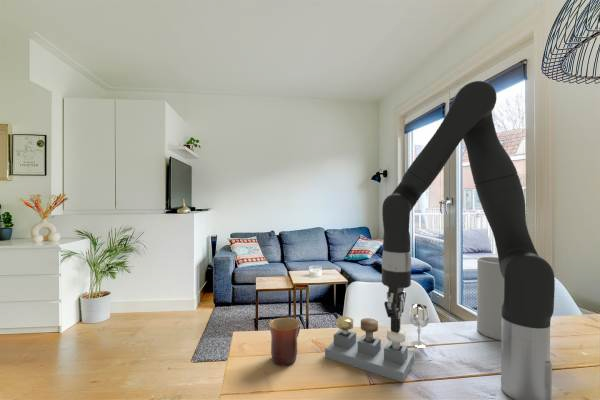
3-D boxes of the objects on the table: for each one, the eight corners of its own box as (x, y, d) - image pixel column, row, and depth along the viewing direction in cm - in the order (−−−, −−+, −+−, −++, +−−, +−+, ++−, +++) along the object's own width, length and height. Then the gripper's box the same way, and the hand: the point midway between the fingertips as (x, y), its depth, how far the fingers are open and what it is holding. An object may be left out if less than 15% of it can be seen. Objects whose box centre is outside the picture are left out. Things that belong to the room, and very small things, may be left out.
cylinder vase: (468, 329, 107) (469, 258, 107) (492, 324, 112) (493, 255, 112) (504, 345, 96) (505, 265, 95) (529, 338, 100) (530, 262, 100)
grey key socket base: (414, 360, 86) (414, 341, 86) (403, 382, 76) (403, 360, 76) (342, 341, 98) (342, 324, 98) (324, 357, 88) (325, 338, 88)
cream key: (407, 352, 84) (407, 330, 84) (402, 359, 79) (402, 336, 79) (389, 347, 86) (389, 326, 86) (384, 354, 82) (384, 332, 82)
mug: (288, 372, 80) (288, 333, 80) (262, 362, 85) (262, 325, 85) (310, 352, 90) (310, 317, 90) (286, 345, 95) (286, 312, 95)
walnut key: (380, 341, 88) (380, 320, 88) (374, 348, 84) (374, 326, 84) (364, 337, 90) (364, 317, 90) (358, 343, 86) (358, 322, 86)
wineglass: (430, 349, 92) (430, 310, 92) (410, 348, 94) (410, 308, 93) (426, 341, 98) (426, 303, 98) (407, 339, 99) (408, 302, 99)
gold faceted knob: (355, 338, 92) (355, 318, 92) (349, 345, 88) (349, 324, 88) (341, 334, 94) (341, 315, 94) (334, 340, 90) (334, 320, 90)
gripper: (404, 274, 75) (403, 344, 75) (416, 264, 86) (415, 326, 86) (374, 270, 79) (373, 336, 79) (389, 261, 90) (388, 320, 90)
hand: (395, 331), depth 83 cm, fingers closed
